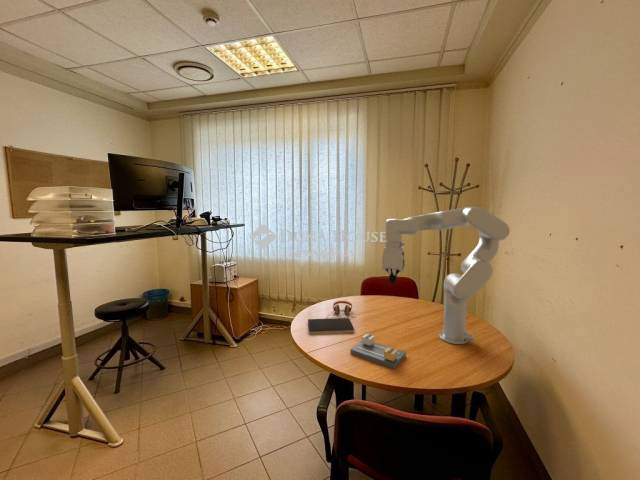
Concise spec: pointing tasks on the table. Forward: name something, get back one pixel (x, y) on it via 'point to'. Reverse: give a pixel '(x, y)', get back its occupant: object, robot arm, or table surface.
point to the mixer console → (377, 354)
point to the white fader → (368, 339)
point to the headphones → (337, 309)
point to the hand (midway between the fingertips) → (392, 282)
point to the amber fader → (390, 354)
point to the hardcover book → (330, 326)
